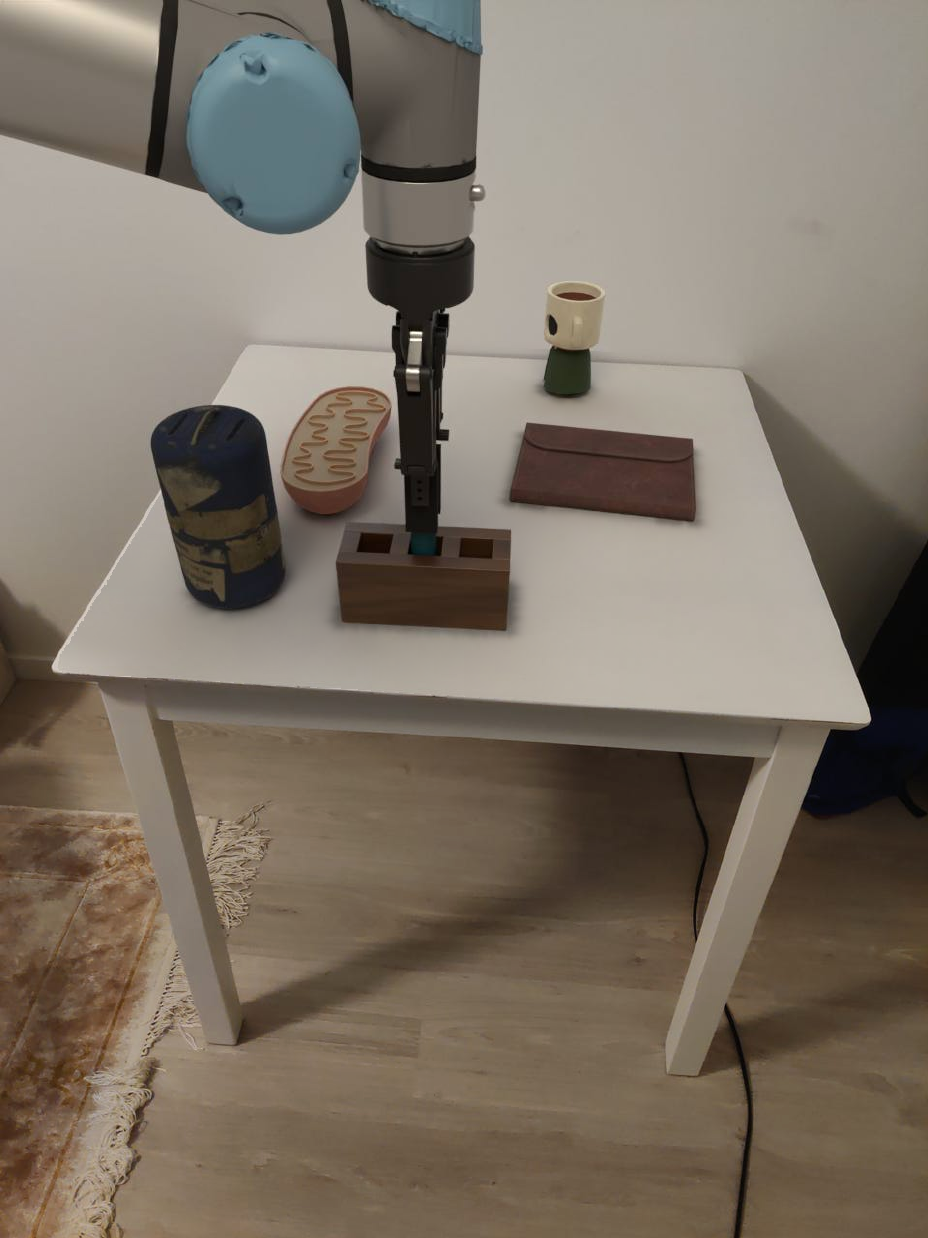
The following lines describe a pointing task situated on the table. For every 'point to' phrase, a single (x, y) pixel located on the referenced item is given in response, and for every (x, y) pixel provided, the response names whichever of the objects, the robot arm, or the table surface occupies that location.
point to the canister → (220, 504)
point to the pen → (423, 544)
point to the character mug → (571, 334)
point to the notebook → (606, 471)
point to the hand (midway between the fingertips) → (423, 519)
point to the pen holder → (424, 577)
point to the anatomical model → (334, 448)
